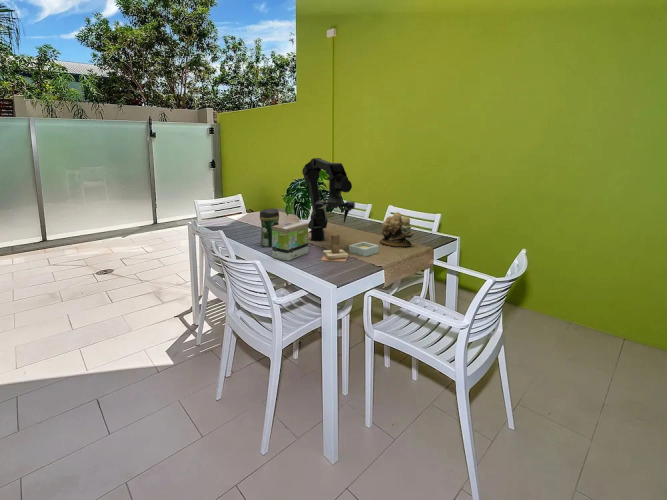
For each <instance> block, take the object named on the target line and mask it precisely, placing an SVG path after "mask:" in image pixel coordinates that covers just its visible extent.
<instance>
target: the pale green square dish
mask: <svg viewBox="0 0 667 500" xmlns="http://www.w3.org/2000/svg"><path fill="white" fill-rule="evenodd" d="M379 248H380V244H379V245H378V244H375V243H370V242H365V241H360V242H357V243H356V242H355V243H353V244H349V245H348V254H354V255H355V256H356V255H357V256H360V257H364V258H366V257H369V256H372V255H375V254H379V251H380V249H379Z"/></svg>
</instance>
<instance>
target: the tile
mask: <svg viewBox="0 0 667 500" xmlns="http://www.w3.org/2000/svg"><path fill="white" fill-rule="evenodd" d="M347 254H348V257H344V258H338V259H328V258H327V257H326V255H325V254H323V256H322V258H321V259H320V261H322V262H337V263H338V262H339V263H346V262H347V260H348V258H349V255H350V253H347Z"/></svg>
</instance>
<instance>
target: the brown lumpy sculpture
mask: <svg viewBox="0 0 667 500" xmlns="http://www.w3.org/2000/svg"><path fill="white" fill-rule="evenodd" d="M411 230H412V226H411V219H410V217H408V216H402V214H401V212H394V214H393V215H392V216H387V218H386V219H385V221H384V222H382V223H381V235H383V237H382V238H381V240H379V245H381V244H382V246H384V245H385V247H388V246H390V248H395V247H401V248H400V249H406V247H407V248H410V247H411V246H413V245H412V243H411V241H410V240H409V239H410V238H412V237H413V235H415V232H413V231H412V232H411ZM407 238H408V239H407ZM402 247H403V248H402Z"/></svg>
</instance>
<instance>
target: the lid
mask: <svg viewBox="0 0 667 500" xmlns="http://www.w3.org/2000/svg"><path fill="white" fill-rule="evenodd" d="M340 238H341V236H340V234H339V233H331V234H330V248H331V249H327V250H322V251H323V255H326V257H327V258H328V259H338V258H344V257H348V258H349V256H348V254H349V253H347V252H346V251H345V250H344V249H342V248H341V247H340V241H341V240H340Z"/></svg>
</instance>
